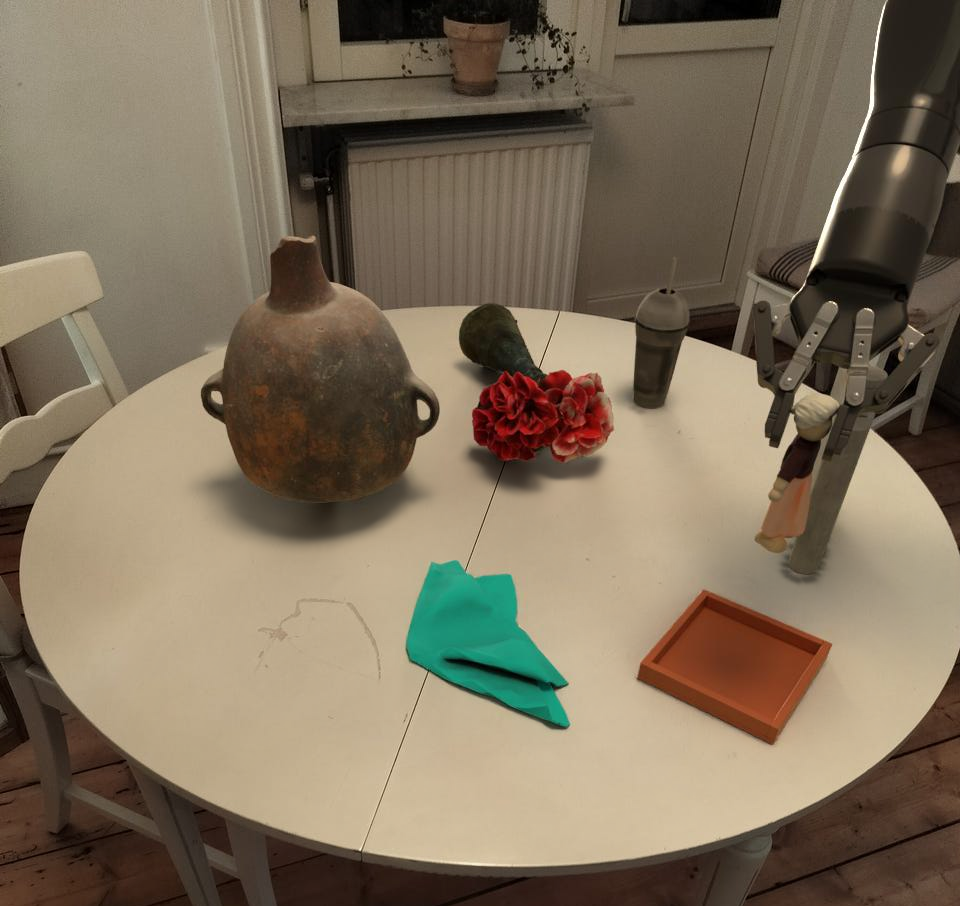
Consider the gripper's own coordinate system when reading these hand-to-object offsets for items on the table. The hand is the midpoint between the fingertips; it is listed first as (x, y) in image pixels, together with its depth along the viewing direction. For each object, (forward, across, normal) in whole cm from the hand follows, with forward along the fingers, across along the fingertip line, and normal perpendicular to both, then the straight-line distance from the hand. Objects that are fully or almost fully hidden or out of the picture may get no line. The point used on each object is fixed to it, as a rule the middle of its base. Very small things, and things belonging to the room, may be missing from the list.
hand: (800, 450), depth 64 cm
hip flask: (-2, +3, +38) cm, 38 cm away
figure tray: (+16, 0, +19) cm, 25 cm away
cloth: (+22, -24, +14) cm, 35 cm away
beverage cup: (-17, -24, +53) cm, 61 cm away
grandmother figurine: (+5, 0, +8) cm, 9 cm away
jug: (+11, -51, +25) cm, 58 cm away
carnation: (-8, -39, +44) cm, 59 cm away
